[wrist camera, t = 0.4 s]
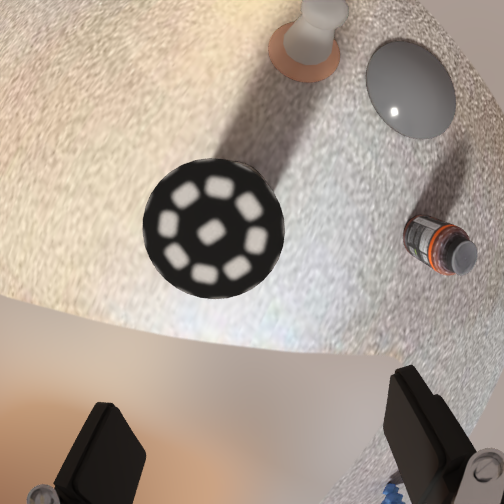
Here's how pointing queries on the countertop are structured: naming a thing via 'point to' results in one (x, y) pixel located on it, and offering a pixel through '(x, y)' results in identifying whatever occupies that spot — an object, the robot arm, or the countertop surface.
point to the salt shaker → (315, 30)
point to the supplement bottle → (440, 245)
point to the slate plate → (411, 90)
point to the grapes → (392, 495)
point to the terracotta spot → (295, 68)
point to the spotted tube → (213, 228)
